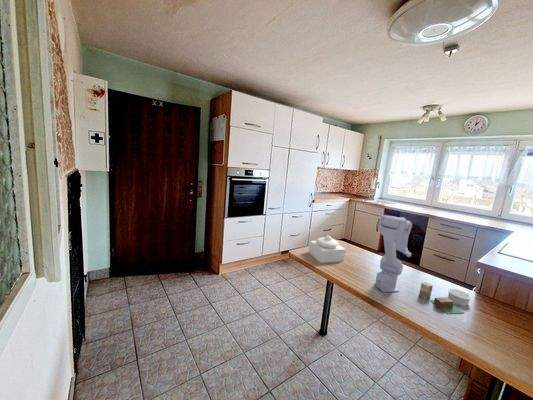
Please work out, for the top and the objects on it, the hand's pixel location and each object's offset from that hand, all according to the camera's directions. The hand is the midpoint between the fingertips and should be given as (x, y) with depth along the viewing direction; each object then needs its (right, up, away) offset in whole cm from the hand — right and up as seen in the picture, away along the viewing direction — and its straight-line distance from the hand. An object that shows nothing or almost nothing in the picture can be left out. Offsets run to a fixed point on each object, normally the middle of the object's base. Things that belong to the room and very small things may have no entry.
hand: (398, 262), depth 133 cm
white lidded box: (-35, -4, +28) cm, 45 cm away
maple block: (+6, -14, -14) cm, 20 cm away
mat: (+11, -15, -22) cm, 29 cm away
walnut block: (+6, -13, -23) cm, 27 cm away
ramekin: (+21, -15, -16) cm, 31 cm away
